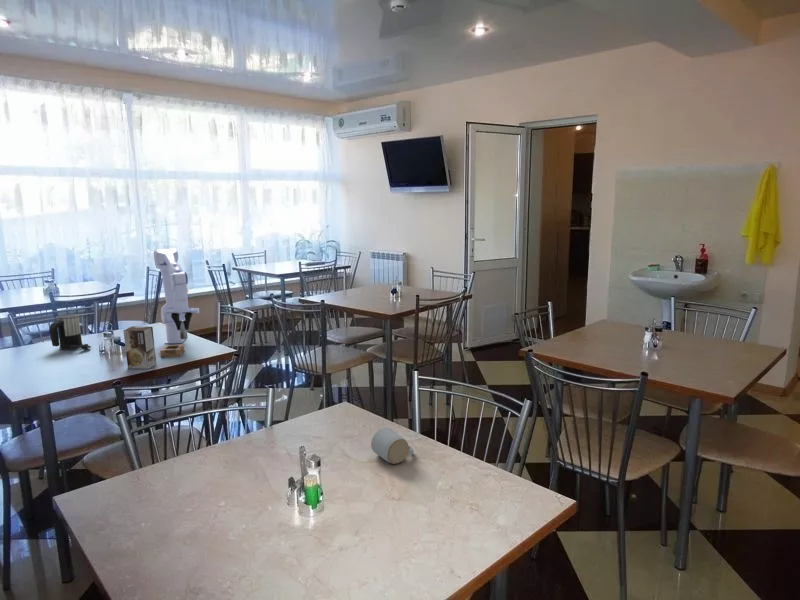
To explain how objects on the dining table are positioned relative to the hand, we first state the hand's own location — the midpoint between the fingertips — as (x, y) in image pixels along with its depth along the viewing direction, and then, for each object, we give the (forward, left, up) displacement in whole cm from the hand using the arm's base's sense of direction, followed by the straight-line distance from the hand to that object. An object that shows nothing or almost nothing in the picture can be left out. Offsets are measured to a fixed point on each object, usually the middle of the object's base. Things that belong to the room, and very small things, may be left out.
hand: (183, 329), depth 236 cm
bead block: (+4, -4, -10) cm, 11 cm away
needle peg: (0, 0, -4) cm, 4 cm away
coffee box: (+20, -12, -10) cm, 25 cm away
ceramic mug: (+111, +78, -10) cm, 136 cm away
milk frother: (-12, -50, -10) cm, 52 cm away
